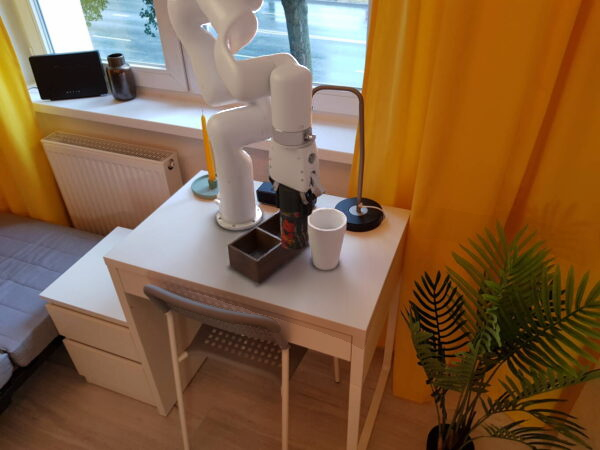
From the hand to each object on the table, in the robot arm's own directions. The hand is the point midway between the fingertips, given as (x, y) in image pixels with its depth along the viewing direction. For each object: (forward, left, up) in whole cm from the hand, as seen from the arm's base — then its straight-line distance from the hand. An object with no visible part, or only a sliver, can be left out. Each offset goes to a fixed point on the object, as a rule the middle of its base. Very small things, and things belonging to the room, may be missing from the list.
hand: (293, 210), depth 104 cm
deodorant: (0, 0, -9) cm, 9 cm away
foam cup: (+1, +10, -21) cm, 23 cm away
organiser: (-11, +4, -21) cm, 24 cm away
